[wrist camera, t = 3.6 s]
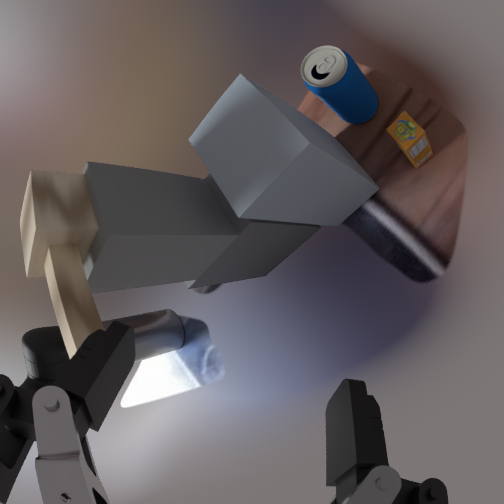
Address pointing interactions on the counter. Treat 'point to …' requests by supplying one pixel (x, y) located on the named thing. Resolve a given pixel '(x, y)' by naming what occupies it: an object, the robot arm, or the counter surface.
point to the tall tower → (176, 232)
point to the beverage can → (339, 84)
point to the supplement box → (410, 139)
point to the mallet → (61, 248)
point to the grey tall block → (278, 160)
